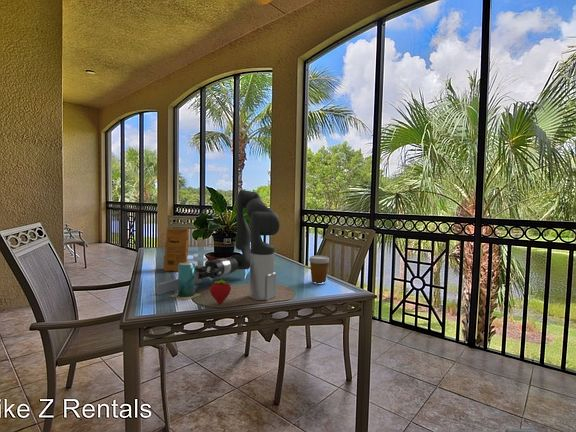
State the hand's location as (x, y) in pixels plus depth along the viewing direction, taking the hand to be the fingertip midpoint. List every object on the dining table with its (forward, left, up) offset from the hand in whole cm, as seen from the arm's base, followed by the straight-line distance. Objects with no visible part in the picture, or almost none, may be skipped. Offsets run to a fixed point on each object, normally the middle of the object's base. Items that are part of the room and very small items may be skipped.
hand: (191, 274), depth 128 cm
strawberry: (-17, +3, -8) cm, 19 cm away
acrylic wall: (+10, -4, -8) cm, 13 cm away
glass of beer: (-35, -45, -8) cm, 58 cm away
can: (0, +2, -7) cm, 8 cm away
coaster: (0, +3, -8) cm, 8 cm away
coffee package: (+38, -27, -8) cm, 48 cm away
